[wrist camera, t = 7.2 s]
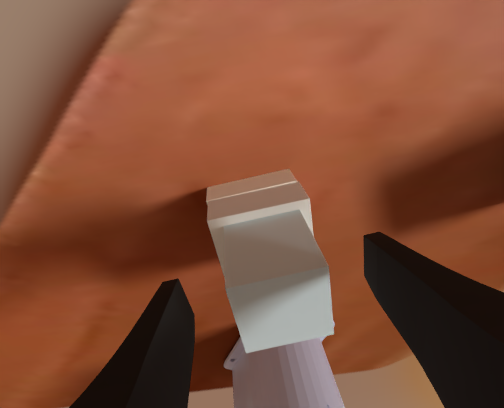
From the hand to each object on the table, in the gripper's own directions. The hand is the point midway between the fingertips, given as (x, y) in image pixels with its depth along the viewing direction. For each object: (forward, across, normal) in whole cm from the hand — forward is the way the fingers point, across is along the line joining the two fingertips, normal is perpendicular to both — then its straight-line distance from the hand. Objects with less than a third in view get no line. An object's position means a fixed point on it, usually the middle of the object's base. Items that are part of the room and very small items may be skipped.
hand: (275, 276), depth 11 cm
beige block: (+8, 0, +3) cm, 9 cm away
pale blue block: (+6, 0, +3) cm, 7 cm away
